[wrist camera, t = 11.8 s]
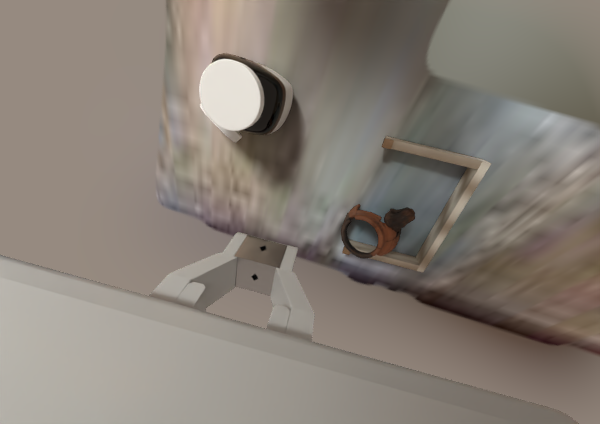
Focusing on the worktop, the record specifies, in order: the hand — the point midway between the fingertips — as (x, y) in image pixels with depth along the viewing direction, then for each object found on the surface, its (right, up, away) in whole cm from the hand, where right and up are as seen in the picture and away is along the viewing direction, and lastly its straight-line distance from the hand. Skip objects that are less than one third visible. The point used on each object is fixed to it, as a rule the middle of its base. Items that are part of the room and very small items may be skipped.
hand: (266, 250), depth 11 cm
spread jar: (-6, +18, +24) cm, 31 cm away
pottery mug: (+15, +1, +30) cm, 33 cm away
